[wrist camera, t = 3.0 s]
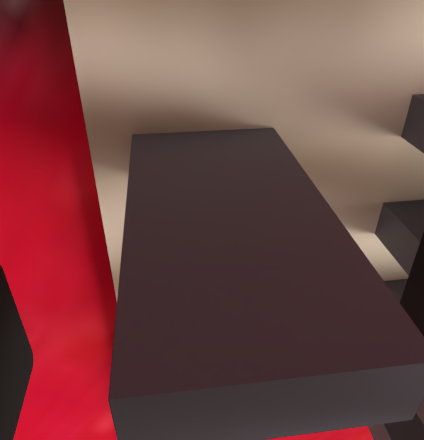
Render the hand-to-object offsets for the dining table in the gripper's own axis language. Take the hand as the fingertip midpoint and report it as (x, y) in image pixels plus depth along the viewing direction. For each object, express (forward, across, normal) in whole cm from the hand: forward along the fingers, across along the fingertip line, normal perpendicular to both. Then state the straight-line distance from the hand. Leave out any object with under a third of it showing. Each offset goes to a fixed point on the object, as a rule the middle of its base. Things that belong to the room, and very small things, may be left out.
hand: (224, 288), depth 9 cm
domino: (+7, 0, 0) cm, 7 cm away
